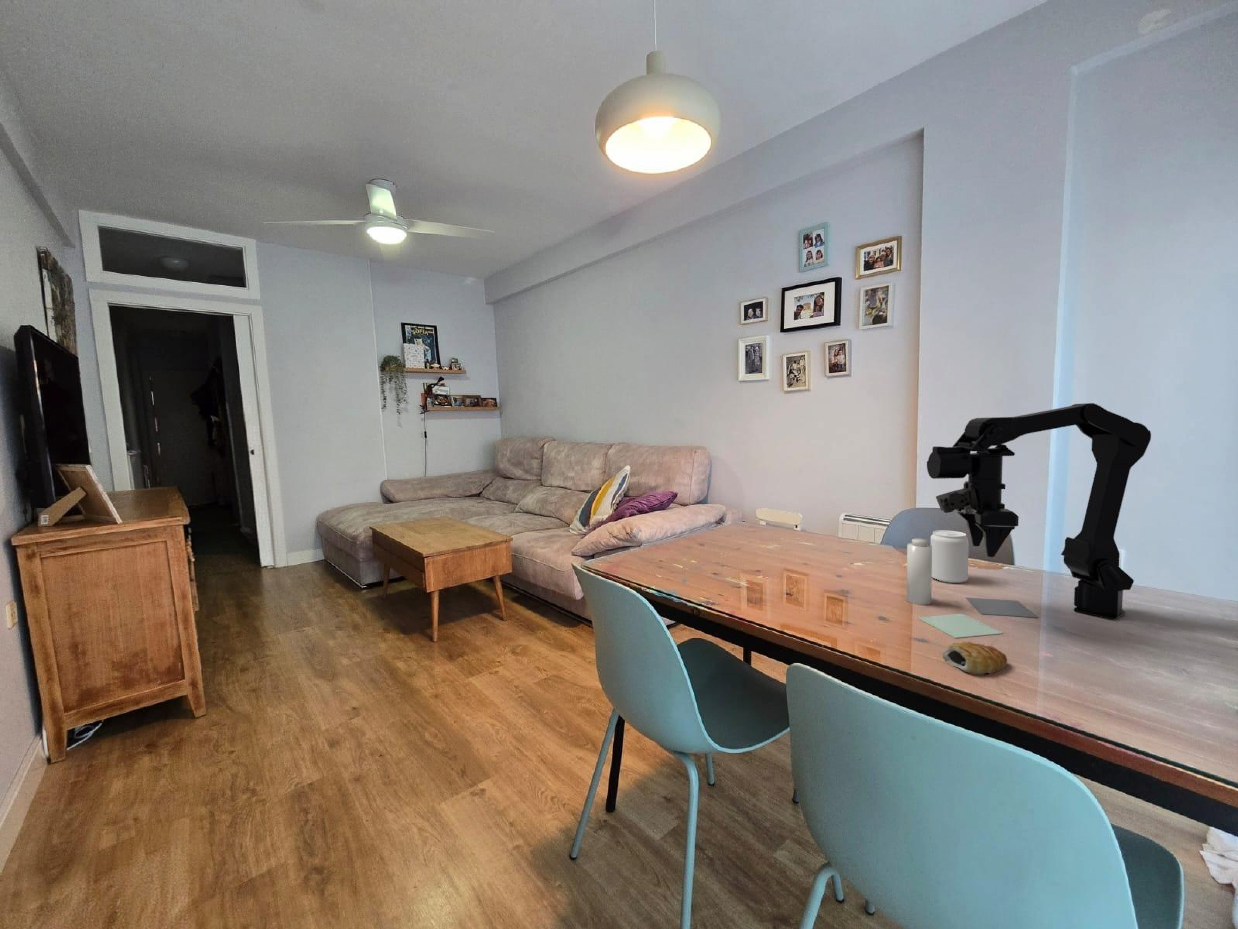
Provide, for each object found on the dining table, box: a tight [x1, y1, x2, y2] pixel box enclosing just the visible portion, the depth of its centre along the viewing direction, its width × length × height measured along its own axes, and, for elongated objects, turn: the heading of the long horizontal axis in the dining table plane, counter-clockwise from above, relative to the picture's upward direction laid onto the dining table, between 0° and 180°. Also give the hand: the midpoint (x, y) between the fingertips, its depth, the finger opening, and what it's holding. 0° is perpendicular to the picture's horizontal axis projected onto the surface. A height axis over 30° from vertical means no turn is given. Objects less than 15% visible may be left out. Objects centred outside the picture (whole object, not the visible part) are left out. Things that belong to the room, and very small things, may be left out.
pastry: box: [941, 641, 1008, 675], centre depth 86 cm, size 9×7×4 cm
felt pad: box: [965, 597, 1040, 619], centre depth 110 cm, size 10×10×1 cm
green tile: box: [917, 613, 1004, 639], centre depth 102 cm, size 10×10×1 cm
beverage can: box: [930, 529, 969, 584], centre depth 130 cm, size 8×8×12 cm
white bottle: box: [906, 538, 933, 606], centre depth 115 cm, size 5×5×14 cm
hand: (982, 551), depth 107 cm, fingers open, 9 cm apart
